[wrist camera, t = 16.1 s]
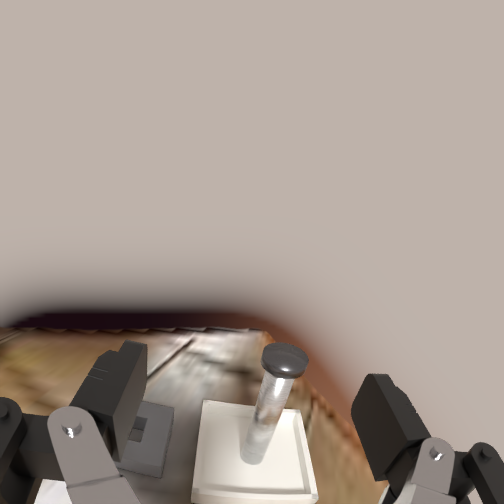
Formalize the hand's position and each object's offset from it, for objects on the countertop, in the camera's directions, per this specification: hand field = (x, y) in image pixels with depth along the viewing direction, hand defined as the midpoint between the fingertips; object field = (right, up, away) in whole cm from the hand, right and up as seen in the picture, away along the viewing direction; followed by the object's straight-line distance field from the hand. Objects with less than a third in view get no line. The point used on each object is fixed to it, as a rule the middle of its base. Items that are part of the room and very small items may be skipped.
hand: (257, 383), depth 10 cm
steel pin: (0, -23, +26) cm, 35 cm away
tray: (0, -24, +26) cm, 36 cm away
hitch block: (-17, -21, +25) cm, 37 cm away
